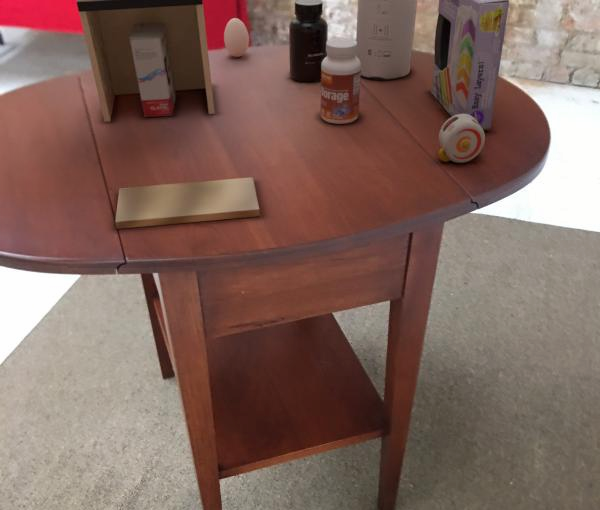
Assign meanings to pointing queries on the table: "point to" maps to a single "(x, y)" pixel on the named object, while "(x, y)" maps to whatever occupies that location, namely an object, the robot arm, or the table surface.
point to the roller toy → (460, 139)
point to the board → (186, 202)
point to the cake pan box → (469, 56)
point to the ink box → (153, 69)
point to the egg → (236, 37)
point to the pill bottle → (340, 81)
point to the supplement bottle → (307, 41)
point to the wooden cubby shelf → (118, 54)
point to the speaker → (385, 37)
